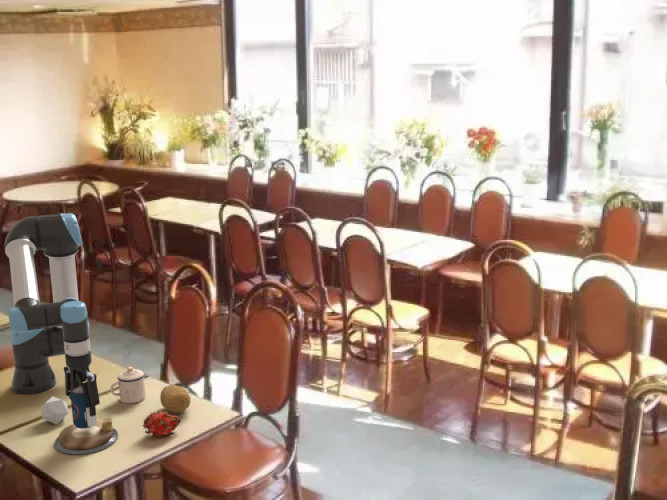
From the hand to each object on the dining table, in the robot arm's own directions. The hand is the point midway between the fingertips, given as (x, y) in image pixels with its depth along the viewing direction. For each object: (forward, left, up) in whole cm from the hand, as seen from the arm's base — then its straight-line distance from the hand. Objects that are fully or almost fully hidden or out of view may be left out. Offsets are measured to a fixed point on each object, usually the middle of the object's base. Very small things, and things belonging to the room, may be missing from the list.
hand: (84, 421), depth 252 cm
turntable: (0, 0, -6) cm, 6 cm away
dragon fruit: (+16, +17, -7) cm, 24 cm away
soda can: (0, 0, -1) cm, 1 cm away
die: (-20, +2, -7) cm, 21 cm away
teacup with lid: (-14, +27, -7) cm, 31 cm away
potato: (+6, +31, -7) cm, 32 cm away
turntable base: (0, 0, -6) cm, 6 cm away
